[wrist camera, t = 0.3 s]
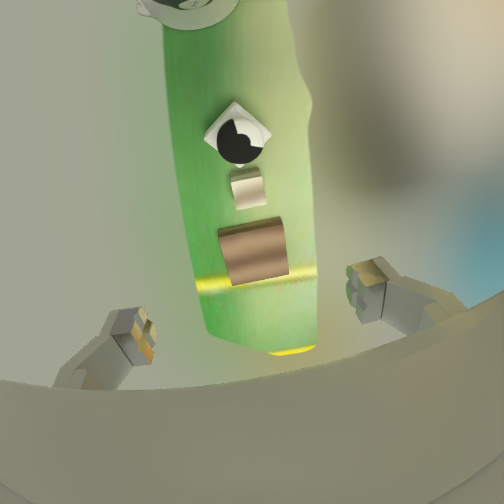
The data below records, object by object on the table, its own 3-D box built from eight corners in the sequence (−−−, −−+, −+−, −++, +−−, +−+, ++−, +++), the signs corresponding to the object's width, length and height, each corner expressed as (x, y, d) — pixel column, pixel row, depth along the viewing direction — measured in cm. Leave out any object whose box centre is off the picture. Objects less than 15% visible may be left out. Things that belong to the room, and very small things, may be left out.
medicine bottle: (237, 157, 45) (242, 180, 35) (205, 132, 41) (200, 146, 32) (266, 127, 42) (280, 141, 32) (234, 100, 39) (238, 104, 29)
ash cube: (229, 173, 46) (230, 182, 42) (257, 167, 46) (261, 176, 42) (235, 198, 49) (237, 210, 45) (262, 193, 49) (266, 204, 45)
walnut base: (218, 229, 52) (218, 237, 50) (279, 216, 52) (282, 224, 50) (231, 276, 59) (232, 285, 56) (286, 265, 59) (289, 274, 56)
